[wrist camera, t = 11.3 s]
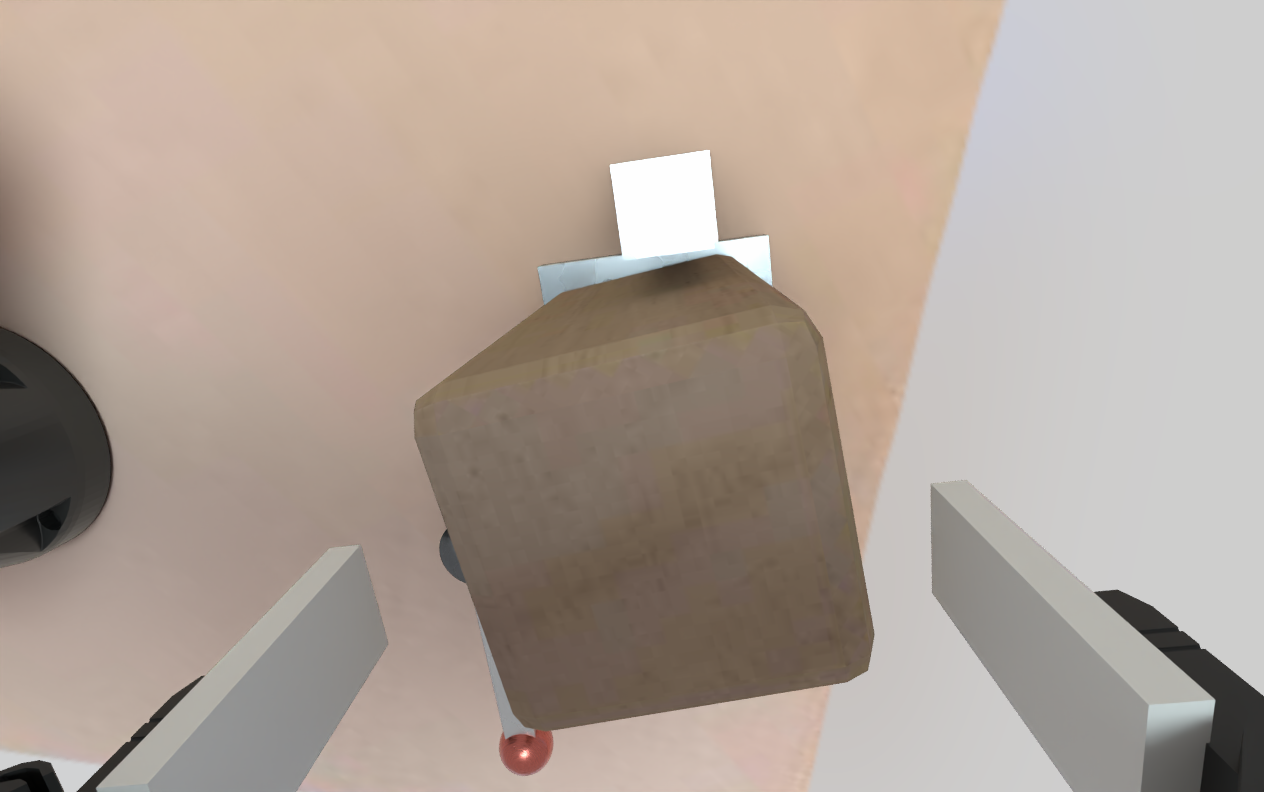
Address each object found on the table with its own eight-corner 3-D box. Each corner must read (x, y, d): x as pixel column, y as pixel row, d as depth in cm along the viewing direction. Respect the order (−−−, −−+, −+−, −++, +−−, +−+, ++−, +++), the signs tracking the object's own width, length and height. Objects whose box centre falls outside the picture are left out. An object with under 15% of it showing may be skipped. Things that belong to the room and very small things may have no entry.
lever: (505, 747, 41) (492, 790, 38) (448, 500, 36) (428, 527, 33) (567, 743, 41) (559, 786, 38) (517, 493, 36) (503, 519, 33)
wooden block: (771, 430, 35) (892, 693, 16) (595, 468, 36) (510, 754, 17) (734, 248, 33) (825, 300, 14) (545, 295, 34) (383, 404, 15)
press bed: (471, 547, 40) (371, 714, 27) (392, 199, 35) (218, 191, 21) (786, 516, 39) (849, 679, 25) (757, 144, 33) (816, 98, 20)
